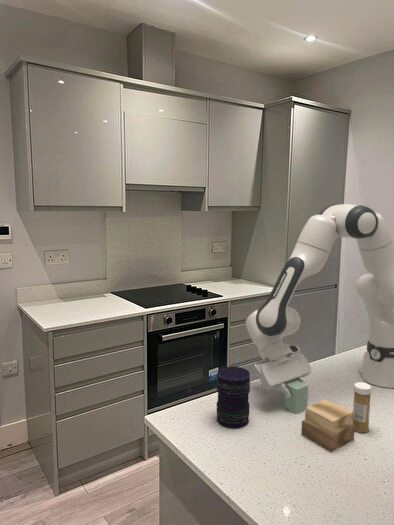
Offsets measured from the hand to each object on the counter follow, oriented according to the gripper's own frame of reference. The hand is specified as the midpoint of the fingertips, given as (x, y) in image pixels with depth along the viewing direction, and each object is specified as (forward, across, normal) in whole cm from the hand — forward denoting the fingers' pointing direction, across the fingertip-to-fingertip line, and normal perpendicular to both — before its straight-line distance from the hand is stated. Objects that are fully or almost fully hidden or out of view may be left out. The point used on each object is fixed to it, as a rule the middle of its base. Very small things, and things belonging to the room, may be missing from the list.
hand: (297, 394), depth 128 cm
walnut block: (+15, -5, -7) cm, 17 cm away
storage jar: (-1, -21, +8) cm, 23 cm away
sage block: (+3, 0, +4) cm, 5 cm away
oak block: (+12, -5, -10) cm, 16 cm away
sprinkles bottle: (+17, +6, -9) cm, 20 cm away
